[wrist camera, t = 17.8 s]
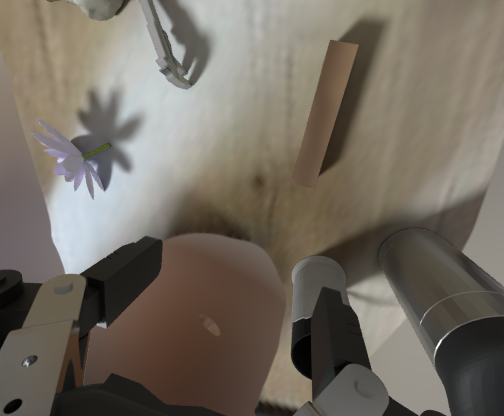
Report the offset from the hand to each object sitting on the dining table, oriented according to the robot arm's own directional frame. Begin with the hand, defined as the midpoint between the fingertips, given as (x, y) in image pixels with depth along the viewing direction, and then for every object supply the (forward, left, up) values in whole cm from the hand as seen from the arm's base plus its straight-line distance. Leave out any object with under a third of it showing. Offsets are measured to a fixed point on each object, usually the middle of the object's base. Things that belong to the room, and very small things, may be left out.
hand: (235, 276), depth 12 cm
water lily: (+33, +4, -27) cm, 42 cm away
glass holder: (-11, +18, -26) cm, 34 cm away
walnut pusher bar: (-3, -8, -27) cm, 28 cm away
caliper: (+21, -18, -27) cm, 39 cm away
